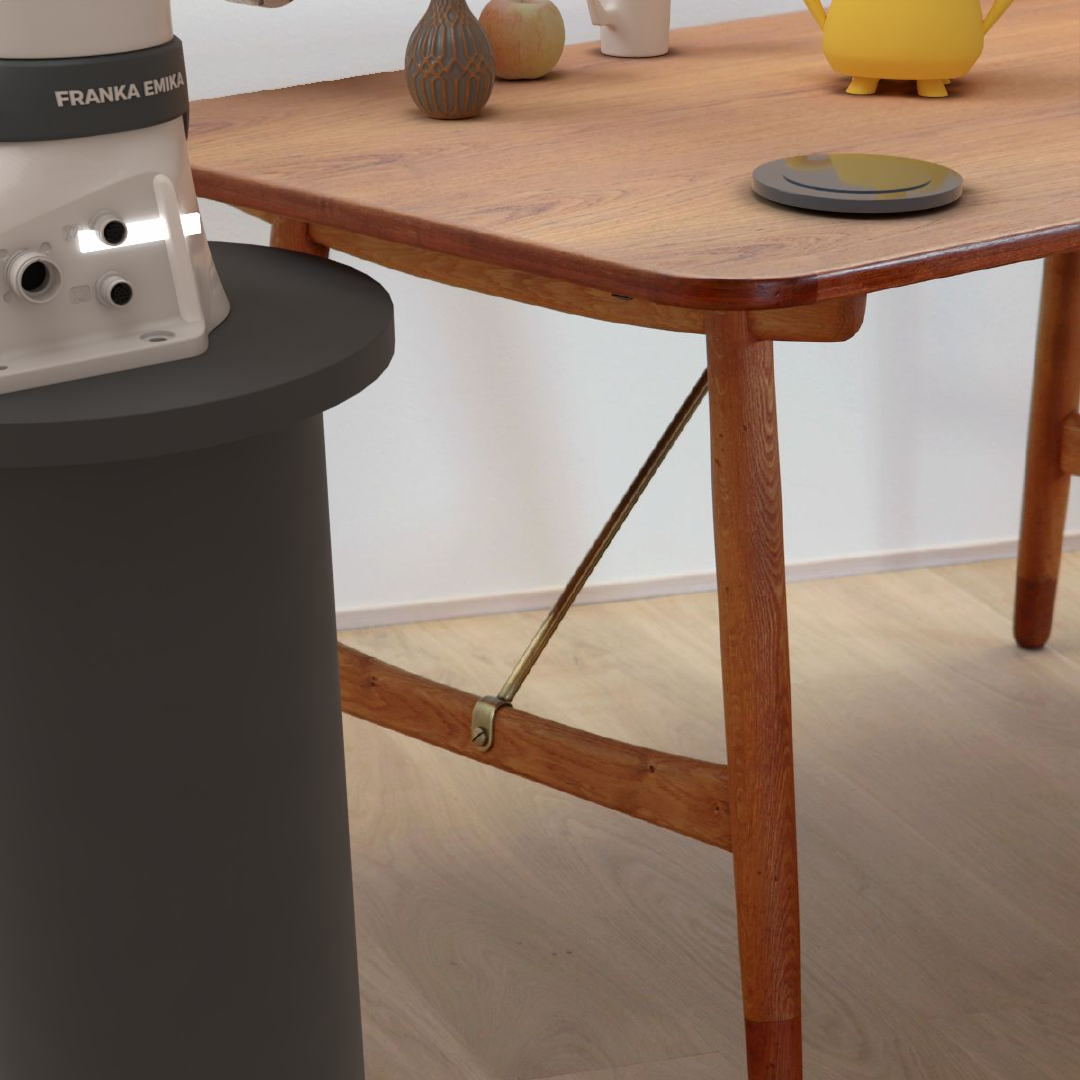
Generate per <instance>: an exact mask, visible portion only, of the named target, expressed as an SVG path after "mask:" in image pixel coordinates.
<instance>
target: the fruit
mask: <svg viewBox="0 0 1080 1080" xmlns="http://www.w3.org/2000/svg"><path fill="white" fill-rule="evenodd" d="M477 20H478V21H479V22H480V24H481V25H482V26H483V28H484V29H485V31H486V32H487V34H488V36H489V39H490V41H491V44H492V47H493V51H494V56H495V76H496V77H498V78H500V79H502V80H503V79H504V80H523V79H526V80H534V79H538V78H541V77H543V76H546V75H547V74H548V73H550V72H551V71H552V70H553V69H554V68H555V67H556V66H557V64H558V62H559V61H560V59H561V57H562V55H563V52H564V48H565V43H566V28H565V23H564V18H563V15H562V13H561V11H560V9H559V8H558V7H557V6H556V5H555V3H554V2H553V1H552V0H489V2H487V3H486V4H485V6H483V9H482V10H481V12H480V15H479V17H478V19H477Z"/></svg>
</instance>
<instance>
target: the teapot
mask: <svg viewBox="0 0 1080 1080" xmlns="http://www.w3.org/2000/svg"><path fill="white" fill-rule="evenodd" d="M802 1H803V2H804V5H805V6H806V8H807V10H808V11H809V12H810V14H811V16H812V17H813V18H814V20H815V21H816V23H817V25H818V26H819V27H820V30H821V32H822V38H821V47H822V53H823V55H824V57H825V59H826V61H827V63H828V64H829V66H830V67H831V69H832V71H833V72H834V73H836V74H839V75H844V76H848V77H849V76H851V77H852V78H851V82H849V85H848V87H847V88H846V90H845V93H847V94H853V95H871V94H875V93H876V91H877V89H878V85H879V82H880V81H881V80H882V79H885V80H915V81H916V89H917V94H918V95H919V96H921V97H929V98H944V97H947V96H948V95H949V94H948V91H947V89H946V86H945V85H949V84H951V80H950V79H958V78H961V77H964V76H966V75H968V72H970V70H971V69H972V68H973V66H974V65H975V64H976V62H977V61H978V60H979V58H980V57H981V55H982V52H983V50H984V46H985V45H984V43H985V36H986V34H987V33H988V32H989V31H990V30H991V29H992V28H993V26H995V24H996V23H997V22H998V21H999V20H1000V19H1001V17H1002V16H1003V15H1004V14H1005V13H1006V12H1007V10H1008V9H1009V8H1010V6H1011V5H1012V3H1014V1H1015V0H994V2H993V4H992V6H991V7H990V9H989V11H988V12H987V14H986V16H985V17H983V11H982V7H981V1H980V0H831V2H830V5H829V8H828V11H827V13H826V11H825V9H824V7H823V4H822V2H821V0H802Z"/></svg>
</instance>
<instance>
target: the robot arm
mask: <svg viewBox="0 0 1080 1080" xmlns="http://www.w3.org/2000/svg"><path fill="white" fill-rule="evenodd" d="M224 1H226V2H228V3H233V4H240V5H245V6H252V7H258V8H265V9H277V8H281V7H285V6H287V5H289V4H291V3H292V2H294V0H224ZM171 6H172V5H171V0H0V395H1V394H6V393H11V392H16V391H21V390H26V389H32V388H37V387H42V386H47V385H52V384H57V383H62V382H68V381H73V380H78V379H83V378H88V377H93V376H99V375H104V374H109V373H114V372H119V371H124V370H129V369H135V368H140V367H145V366H150V365H155V364H160V363H166V362H171V361H176V360H181V359H186V358H191V357H195V356H198V355H201V354H203V353H204V352H205V351H206V350H207V349H208V345H209V339H208V335H209V333H210V332H211V331H212V330H213V329H214V328H215V327H217V326H218V325H219V324H220V323H221V322H223V321H224V320H225V318H226V317H227V316H228V314H229V312H230V303H229V301H228V298H227V296H226V294H225V291H224V289H223V287H222V284H221V282H220V279H219V276H218V273H217V271H216V268H215V265H214V262H213V258H212V255H211V252H210V249H209V246H208V242H207V241H208V238H207V233H206V231H205V226H204V222H203V219H202V215H201V211H200V206H199V202H198V196H197V193H196V188H195V183H194V179H193V173H192V167H191V162H190V161H191V160H190V157H189V156H190V155H189V149H188V144H187V141H188V138H189V129H190V98H189V97H190V96H189V89H188V87H189V86H188V79H187V69H186V63H185V53H184V45H183V41H182V39H180V37H178V36H177V35H176V34H174V29H173V17H172V7H171Z"/></svg>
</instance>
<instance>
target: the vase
mask: <svg viewBox="0 0 1080 1080" xmlns="http://www.w3.org/2000/svg"><path fill="white" fill-rule="evenodd" d="M428 4H429V5H428V6H427V9H426V11H425V13H423V16H422V17H421V19H420V20H418V23H416V26H415V27H414V29H413V30H412V32H411V34H410V36H409V38H408V42H407V45H406V49H405V54H404V76H405V83H406V87H407V91H408V93H409V95H410V97H411V100H412V102H413V103H414V104H415V106H416V107H417V108H418V109H419V110H420V112H422V114H424V115H425V116H426V117H429V118H433V119H439V120H440V119H441V120H443V119H444V120H456V119H457V120H458V119H460V120H461V119H467V118H471V117H475V116H477V115H478V114H479V113H480V112H481V111H482V110H483V109H484V108H485V106H486V105H487V103H488V102H489V100H490V97H491V95H492V93H493V91H494V87H495V86H494V85H495V80H496V75H495V56H494V51H493V47H492V44H491V41H490V39H489V36H488V34H487V32H486V31H485V29H484V28H483V26H482V25H481V24H480V22H479V21H478V20H479V19H478V18H477V17H476V15H475V14H474V13H473V11H472V10H471V8H470V7H469V5H468V3H467V1H466V0H430V2H429V3H428Z"/></svg>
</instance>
